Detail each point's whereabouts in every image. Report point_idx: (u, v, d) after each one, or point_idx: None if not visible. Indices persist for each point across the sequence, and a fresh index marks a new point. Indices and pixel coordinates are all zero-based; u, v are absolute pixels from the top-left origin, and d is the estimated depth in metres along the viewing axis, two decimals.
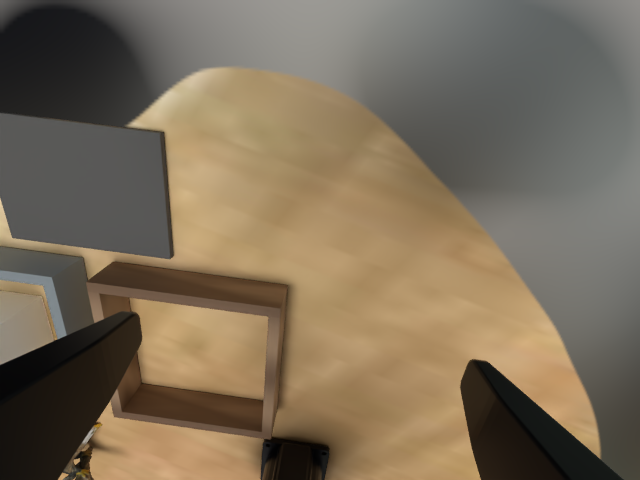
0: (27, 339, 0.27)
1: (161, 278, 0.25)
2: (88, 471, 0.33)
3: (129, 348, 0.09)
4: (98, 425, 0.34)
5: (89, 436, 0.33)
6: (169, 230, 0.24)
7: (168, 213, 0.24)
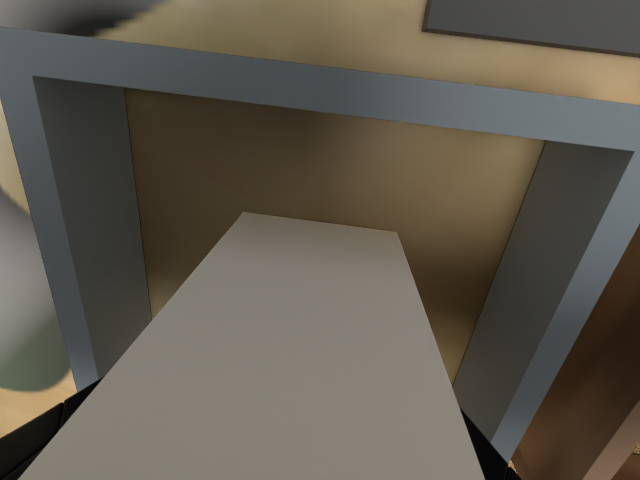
0: None
1: None
2: None
3: None
4: None
5: None
6: None
7: None
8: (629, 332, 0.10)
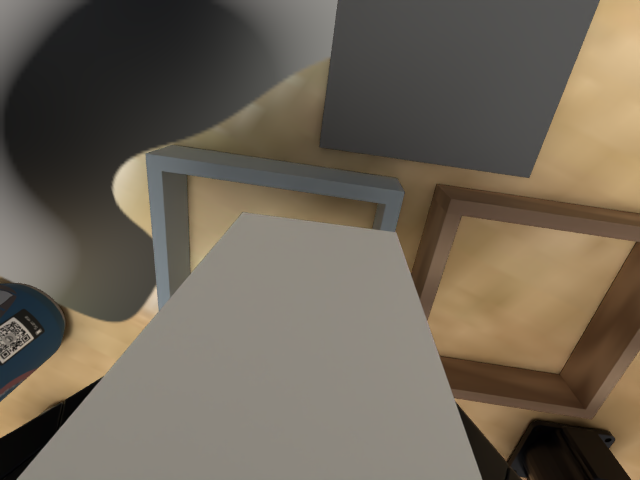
0: None
1: (522, 201, 0.19)
2: None
3: None
4: None
5: None
6: None
7: None
8: (418, 280, 0.21)
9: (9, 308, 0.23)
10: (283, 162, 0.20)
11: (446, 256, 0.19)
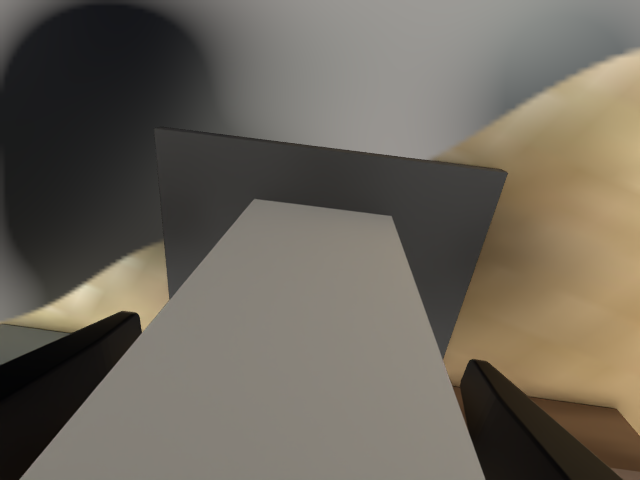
0: None
1: None
2: None
3: None
4: None
5: None
6: None
7: None
8: None
9: None
10: None
11: None
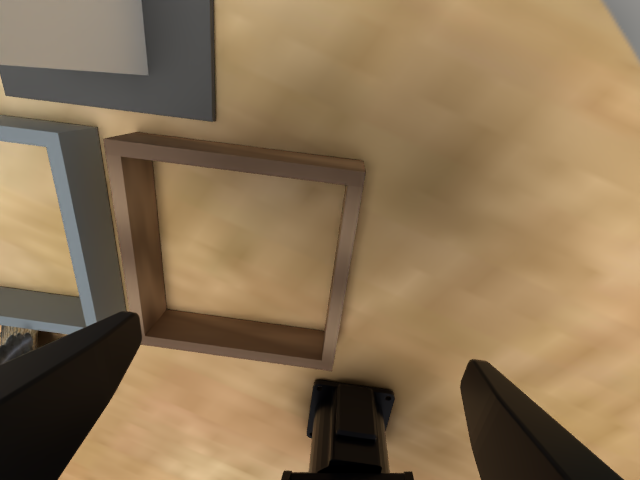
0: (118, 19, 0.15)
1: (201, 144, 0.19)
2: None
3: (129, 348, 0.09)
4: None
5: None
6: (212, 78, 0.18)
7: (212, 51, 0.18)
8: None
9: None
10: None
11: (124, 200, 0.19)
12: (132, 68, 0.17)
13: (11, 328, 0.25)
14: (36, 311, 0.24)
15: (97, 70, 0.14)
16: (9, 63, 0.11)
